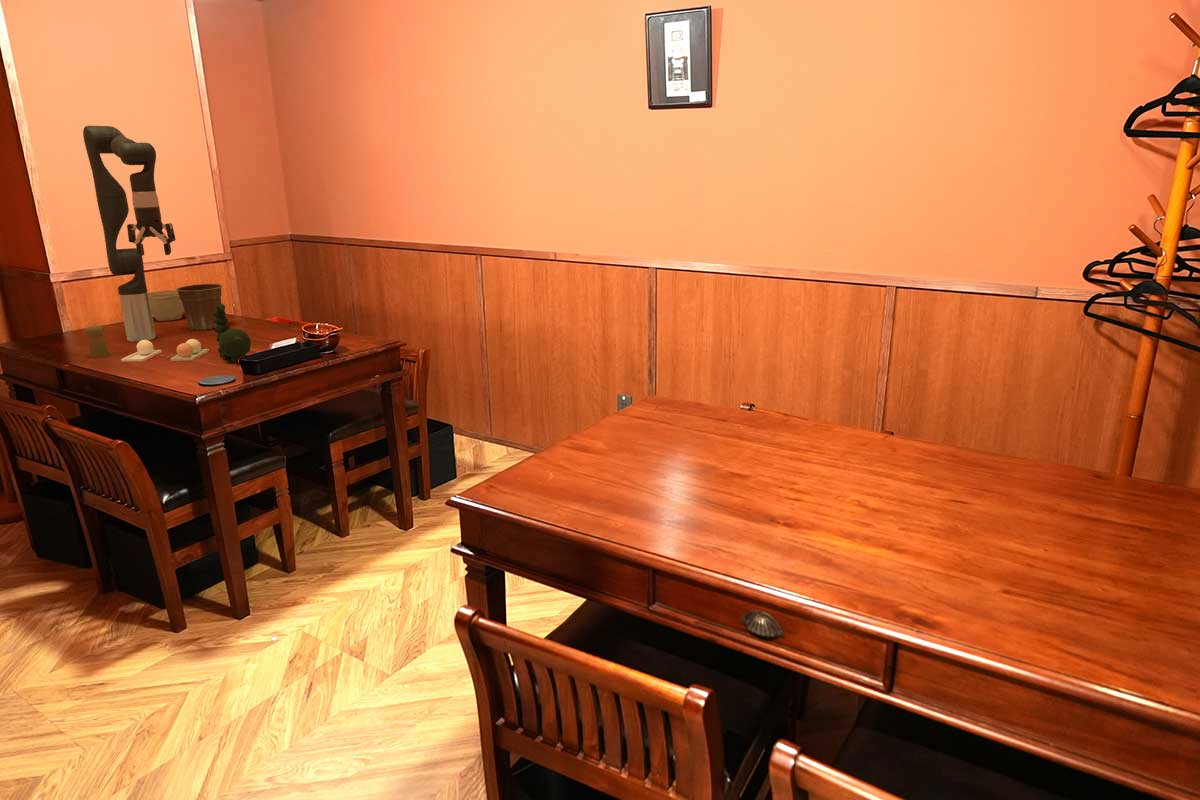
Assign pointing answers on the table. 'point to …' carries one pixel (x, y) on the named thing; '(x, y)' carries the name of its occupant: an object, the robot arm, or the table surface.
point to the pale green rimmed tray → (192, 357)
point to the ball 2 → (184, 350)
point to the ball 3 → (194, 345)
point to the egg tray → (140, 356)
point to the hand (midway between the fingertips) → (154, 255)
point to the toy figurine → (230, 337)
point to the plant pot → (200, 304)
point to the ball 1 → (145, 347)
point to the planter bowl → (166, 305)
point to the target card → (167, 356)
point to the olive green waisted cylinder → (96, 342)
